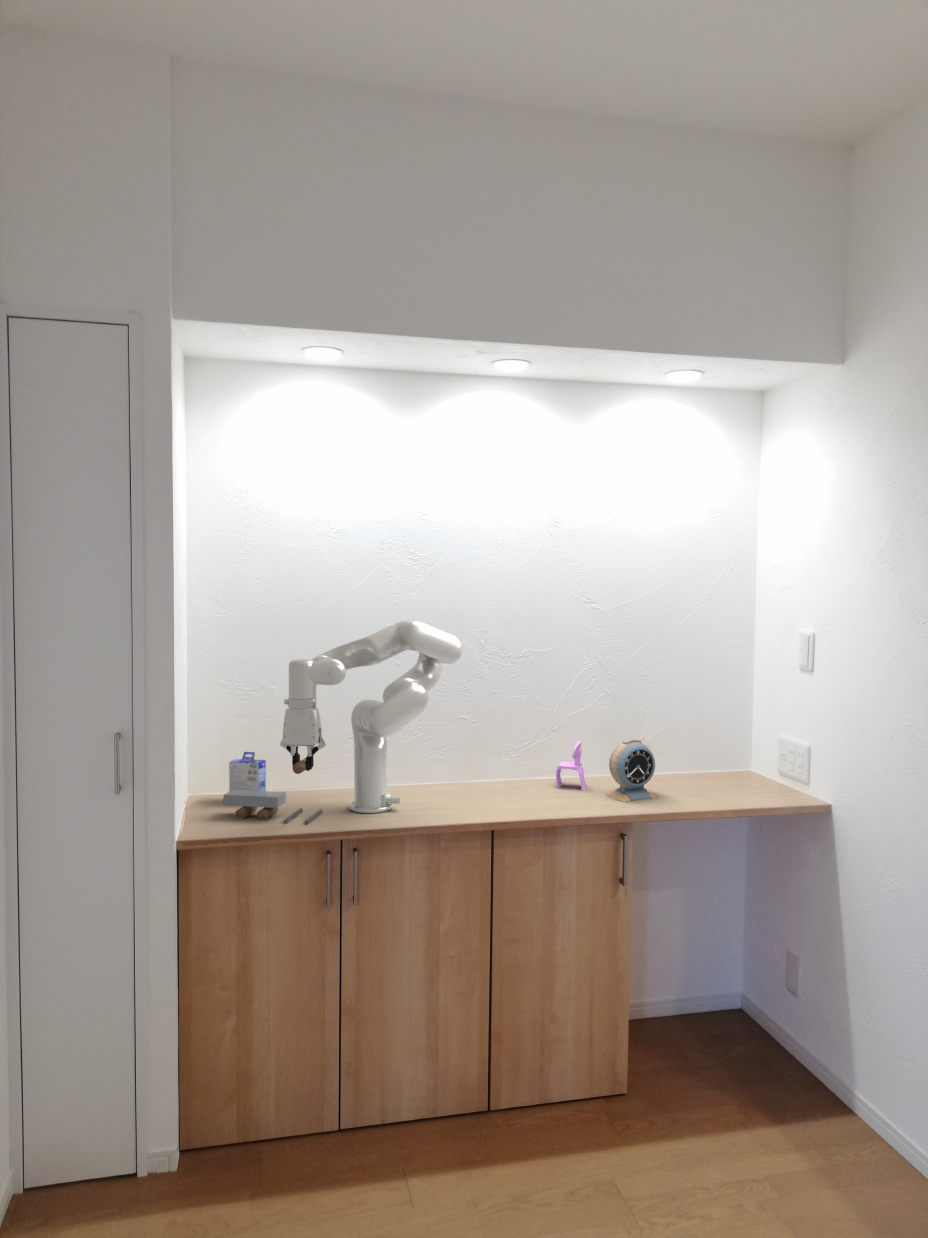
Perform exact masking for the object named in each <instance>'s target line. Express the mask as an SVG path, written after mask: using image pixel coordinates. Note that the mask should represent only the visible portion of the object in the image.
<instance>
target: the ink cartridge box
mask: <svg viewBox="0 0 928 1238" xmlns="http://www.w3.org/2000/svg"><path fill="white" fill-rule="evenodd" d="M246 755H251V756H246ZM255 755H256V752H255V751H244V752H243V755H242V756H241V757H242V758H241V759H240V758H236V759H233V760H231V761H229V762H228V766H229V767H228V768H229V769H228V774H229V775H228V782H229V783H228V790H229V791H228V792H230V791H231V790H250V791H267V789H266V787H267V785H266V784H267V781H266V779H267V768H266V767H267V766H266V765H267V762H266V761H267V760H266V759H255Z"/></svg>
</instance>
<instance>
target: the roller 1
mask: <svg viewBox="0 0 928 1238" xmlns="http://www.w3.org/2000/svg"><path fill="white" fill-rule="evenodd" d="M257 810H258V807H247V806H240V808H238V809H236V810H235V815H234V816H235V818H236V819H238V820H244V819H245V818H247V817H248V816H250V815H252V814H253V813H255V812H256V811H257Z"/></svg>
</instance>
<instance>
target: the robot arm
mask: <svg viewBox="0 0 928 1238" xmlns="http://www.w3.org/2000/svg"><path fill="white" fill-rule="evenodd" d="M405 651H415V652H417V653H418V659H417V660H416V661H417V662H416V663H415V664H414V665H413V666H412V667H411V668H410V669H409V670H407V671H406V672H405V673H403V674H402V675H400V676H399V677H398V678H397V679H394V680H393V681H392V682H391V683H389V684H388V685H387V686H386V687H385V688H384V690H383V693H382V701H383V702H382V701H379V700H375V699H369V698H368V699H364V700H360V701H359V702H358V703H356V705H355V706H354V707H353V708H352V711H351V718H350V719H351V721H350V722H351V729H352V734H353V753H354V758H353V762H354V764H353V766H354V767H353V769H354V771H353V772H354V775H353V777H354V778H353V779H354V780H353V781H354V783H353V784H354V787H353V788H354V793H353V794H354V800H353V801H351V802H350V803H349V805H348V807H349V810H350V811H352V812H356V813H360V814H361V813H362V814H374V813H375V814H377V813H383V812H387V811H390V810H392V809H393V805H401V803H402V796H399V795H392V794H391V791H390V790H388V744H387V743H388V741H387V737H388V738H389V737H390V736H392V735H394V734H396V733H397V732H399V731H400V730H401V729H403V728H405V726H408V724H409V723H411V722H412V721H413V720H415V719H416V718H417V717H418V716H420V715H421V714H422V713H423V712H424V710H425V709H426V708H427V705H428V704H429V703H428V702H429V693H428V692H429V691H430V690H432V689H433V688H434V687H435V685H437V683H438V681H439V679H440V676H441V673H442V668H443V664H446V665H447V664H448V665H449V664H453V663H456V662H457V661H458V660H459V659H460V658H461V656H462V654H463V644H462V642H461V641H460V639H459V638H458V637H457V636H455V635H453V634H450V633H448V632H446V631H442V630H440V629H438V628H436V627H434V626H430V625H429V624H426V623H423V622H421V621H412V620H400V621H399V622H396V623H394V624H393V623H392V625H391V624H390V625H389V626H387V627H385V628H382V629H380V630H378V631H376V632H374V633H372V634H369V635H367V636H364V637H362V638H360V639H356V640H353V641H350V642H347V643H345V644H342V645H339V646H336V647H334V648H331V649H329V650H327V651H324V652H323V653H320V654H318V655H316V656H315V657H314V658H312V659H307V658H306V659H302V658H301V659H293V660H291V661H289V663H288V698H287V699H284V700H283V703H284V705H287V706H288V708H286V709H285V712H284V718H283V725H282V738H281V741H280V743H279V745H280V746H281V747H282V748H284V749H286V750H287V752H288V753H289V754H290V756H291V758H292V759H291V760H292V767H293V765H294V764H295V763H297V762H299V761H301V755H300V753H299V747H306V749H307V750H306V751H307V756H305V758H306V770H305V771H307V772H309V771H310V770H312V769H313V767H314V756H315V754H316V753H318V751H319V750H321V749H323V748H325V747H326V746H327V744H326V742H325V740H324V739H323V732H322V731H323V730H322V719H321V715H320V710H319V708H317V685H321V686H322V685H323V686H336V685H339V684H341V683H342V682H343V681H344V680H345V678H346V676H347V671H348V670H351V669H355V668H361V667H370V666H374V665H378V664H381V663H382V662H385V661H387V660H388V659H390V658H393V657H395V656H397V655H399V654H401V653H403V652H405Z"/></svg>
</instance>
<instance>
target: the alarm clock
mask: <svg viewBox="0 0 928 1238" xmlns="http://www.w3.org/2000/svg"><path fill="white" fill-rule="evenodd" d="M608 768H609V772H610V774H611V777H612V778H613V780H614V781H615V782H616V783H617V784H618V785H619V787H617V788H616V789H615V790H613V791H611V792H608V793H606V794H605V795H606V796H607V797H609V798H612V799H615V800H617V801H619V802H623V803H631V802H640V801H645V800H646V801H647V800H653V799H659V797H658V796H656V795H655V794H653V793H652V792H650V791H648V790H647V788H645V785H646V784H648V782H650V780H651V779H652V778H653V776H654V773H655V770H656V761H655V757H654V754H653V752H652V751H651V749H650V748H649V747H648V746H647V745H646V744H644V743H642V740H639V739H636V738H628V739H626V740H624V741H622V743H620V744H619V745H617V746H616V747H615V748H614V750H613V751H612V753H611V754H610V758H609V763H608Z"/></svg>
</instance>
